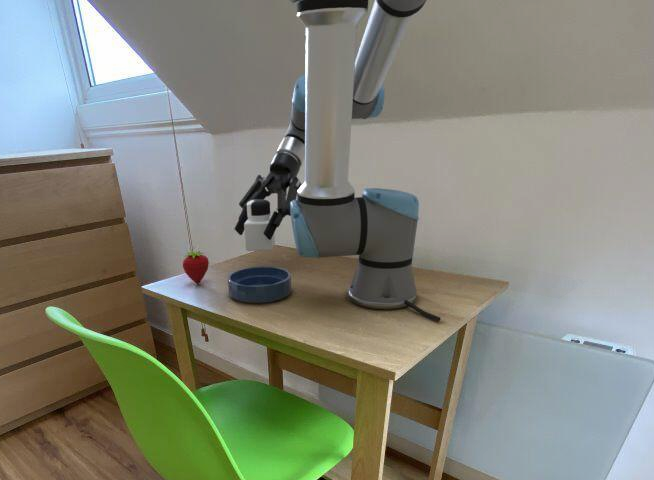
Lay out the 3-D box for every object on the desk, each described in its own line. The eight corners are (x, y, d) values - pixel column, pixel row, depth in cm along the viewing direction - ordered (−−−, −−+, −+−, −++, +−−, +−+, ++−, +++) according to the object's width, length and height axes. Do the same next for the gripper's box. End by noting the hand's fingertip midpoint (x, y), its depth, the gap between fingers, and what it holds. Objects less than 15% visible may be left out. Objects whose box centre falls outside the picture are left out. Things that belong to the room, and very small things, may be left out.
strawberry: (216, 281, 116) (212, 243, 111) (196, 290, 111) (191, 250, 106) (200, 278, 119) (195, 241, 114) (180, 286, 114) (174, 247, 109)
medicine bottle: (275, 244, 120) (273, 197, 114) (272, 250, 114) (270, 202, 108) (249, 244, 121) (246, 198, 115) (245, 251, 115) (242, 203, 109)
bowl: (303, 293, 106) (303, 275, 104) (254, 310, 98) (253, 291, 96) (264, 279, 116) (263, 262, 114) (217, 294, 108) (215, 276, 106)
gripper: (328, 172, 112) (292, 247, 110) (263, 169, 125) (230, 237, 123) (316, 150, 106) (278, 230, 104) (249, 150, 119) (214, 221, 117)
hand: (252, 234), depth 114 cm, fingers closed on medicine bottle, 10 cm apart
